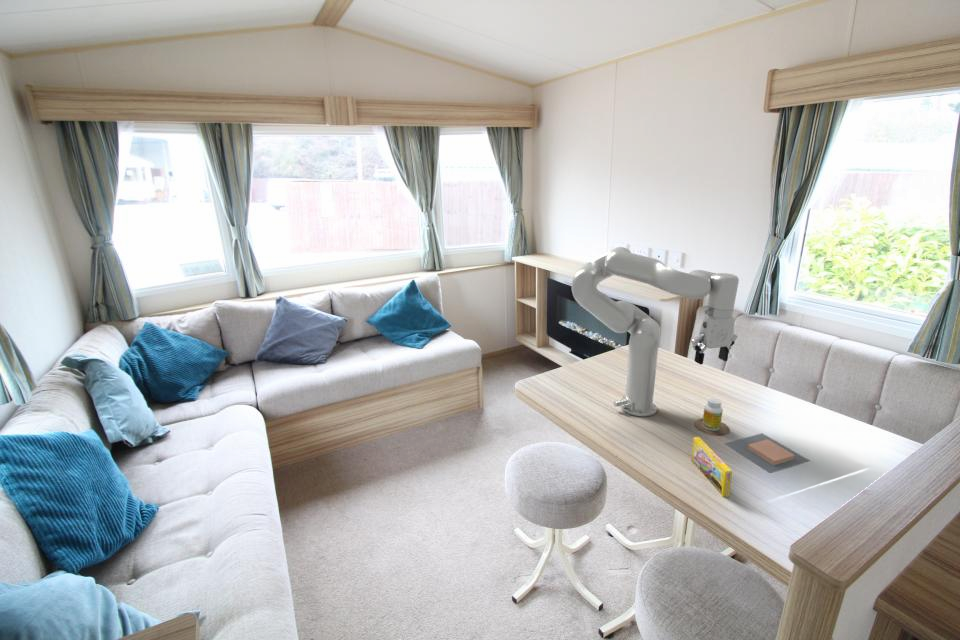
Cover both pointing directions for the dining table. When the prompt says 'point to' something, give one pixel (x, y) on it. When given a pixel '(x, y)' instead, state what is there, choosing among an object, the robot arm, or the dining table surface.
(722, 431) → the walnut coaster
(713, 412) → the supplement bottle
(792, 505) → the dining table surface
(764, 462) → the slate mat
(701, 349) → the robot arm
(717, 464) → the candy box
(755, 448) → the terracotta tile
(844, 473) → the dining table surface
